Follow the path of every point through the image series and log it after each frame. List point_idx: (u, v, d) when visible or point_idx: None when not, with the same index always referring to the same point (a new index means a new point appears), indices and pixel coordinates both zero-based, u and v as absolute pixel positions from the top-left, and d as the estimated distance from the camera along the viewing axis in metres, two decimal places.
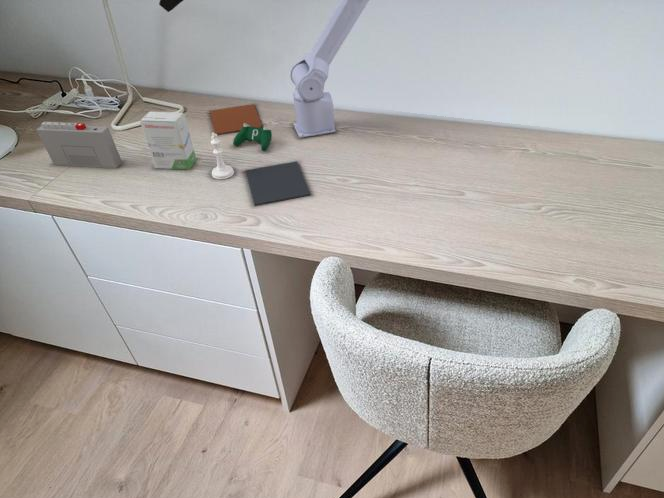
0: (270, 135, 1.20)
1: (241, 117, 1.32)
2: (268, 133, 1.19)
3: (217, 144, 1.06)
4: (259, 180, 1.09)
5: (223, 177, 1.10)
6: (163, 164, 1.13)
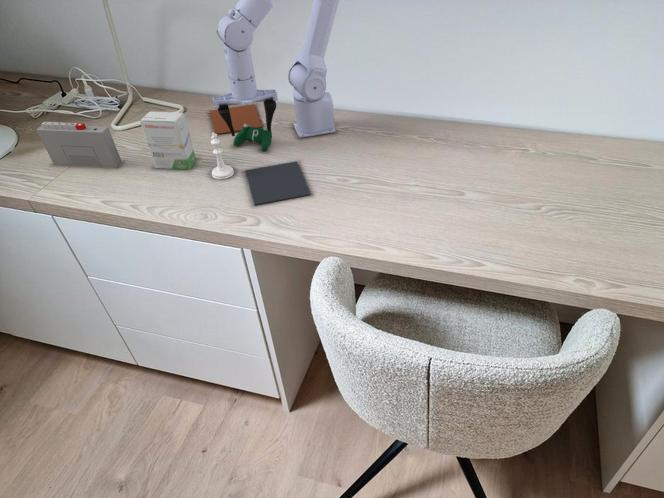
0: (271, 135, 1.20)
1: (241, 117, 1.32)
2: (268, 134, 1.19)
3: (217, 144, 1.06)
4: (259, 180, 1.09)
5: (223, 177, 1.10)
6: (163, 164, 1.13)
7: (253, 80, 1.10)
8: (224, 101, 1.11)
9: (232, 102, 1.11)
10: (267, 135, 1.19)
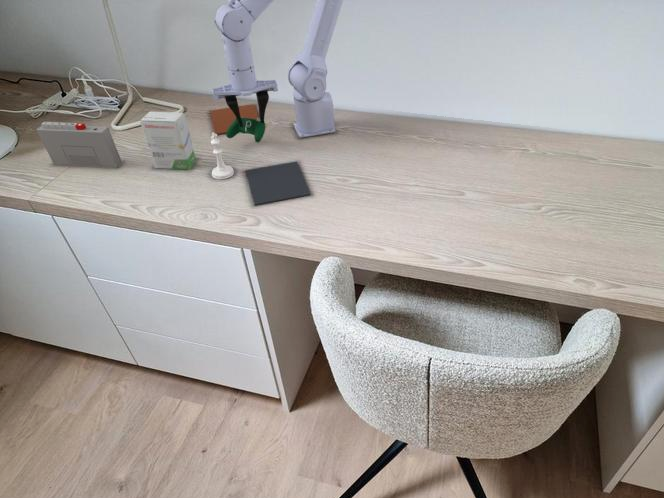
0: (264, 126, 1.18)
1: None
2: (261, 124, 1.17)
3: (217, 144, 1.06)
4: (259, 180, 1.09)
5: (223, 177, 1.10)
6: (163, 164, 1.13)
7: (252, 70, 1.08)
8: (224, 92, 1.10)
9: (232, 93, 1.10)
10: (260, 126, 1.17)
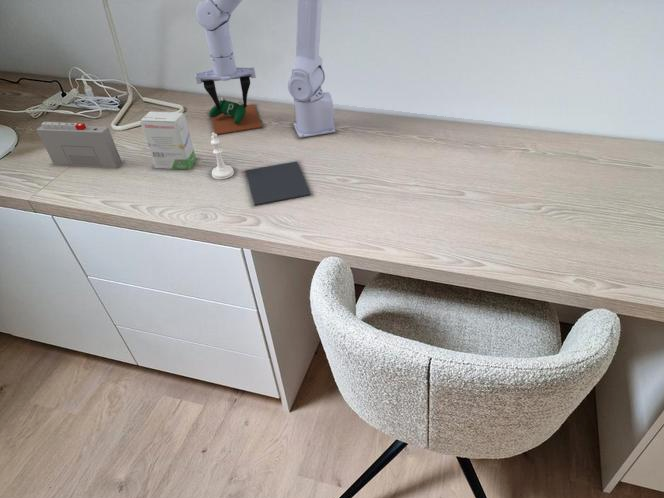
0: (244, 110, 1.29)
1: None
2: (242, 108, 1.29)
3: (217, 144, 1.06)
4: (259, 180, 1.09)
5: (223, 177, 1.10)
6: (163, 164, 1.13)
7: (232, 58, 1.19)
8: (205, 77, 1.21)
9: (212, 78, 1.21)
10: (241, 109, 1.28)
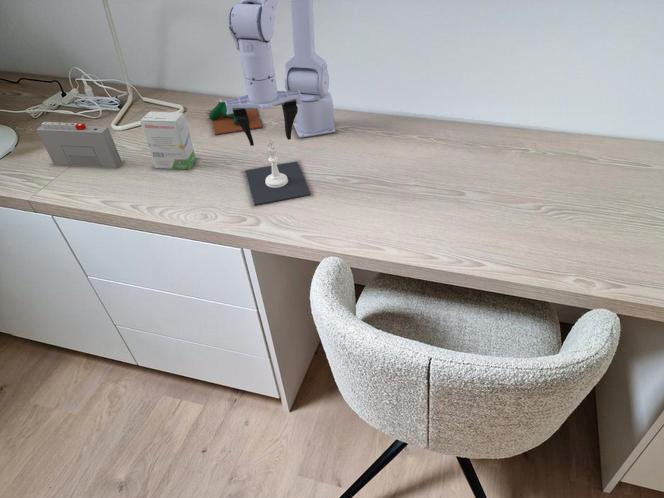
0: None
1: None
2: None
3: (274, 152, 1.03)
4: (259, 180, 1.09)
5: (278, 185, 1.07)
6: (163, 164, 1.13)
7: (273, 80, 0.92)
8: (239, 105, 0.94)
9: (249, 106, 0.94)
10: None
